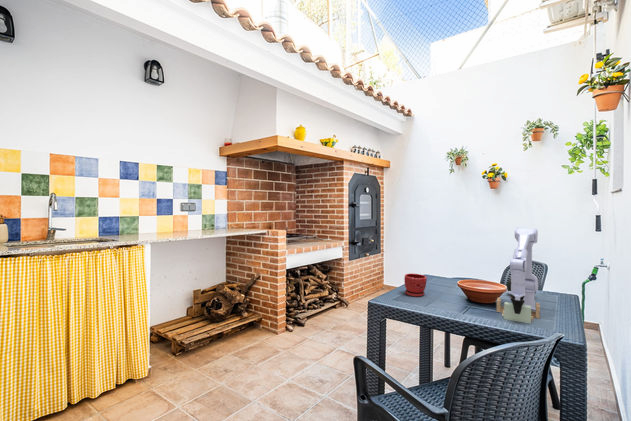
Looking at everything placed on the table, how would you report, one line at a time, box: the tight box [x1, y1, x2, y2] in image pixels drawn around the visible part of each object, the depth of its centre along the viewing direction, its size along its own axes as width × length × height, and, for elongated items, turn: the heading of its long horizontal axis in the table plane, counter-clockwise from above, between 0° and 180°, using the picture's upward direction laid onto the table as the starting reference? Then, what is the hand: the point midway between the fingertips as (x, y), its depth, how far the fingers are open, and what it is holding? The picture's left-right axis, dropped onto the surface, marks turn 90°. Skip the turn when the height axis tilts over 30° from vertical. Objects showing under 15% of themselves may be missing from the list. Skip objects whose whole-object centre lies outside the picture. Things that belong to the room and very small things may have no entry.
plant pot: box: [404, 273, 427, 297], centre depth 202 cm, size 13×13×12 cm
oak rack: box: [496, 297, 541, 320], centre depth 168 cm, size 7×18×6 cm, turn 58°
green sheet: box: [503, 301, 532, 324], centre depth 158 cm, size 4×11×8 cm, turn 57°
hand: (517, 311), depth 158 cm, fingers open, 7 cm apart
